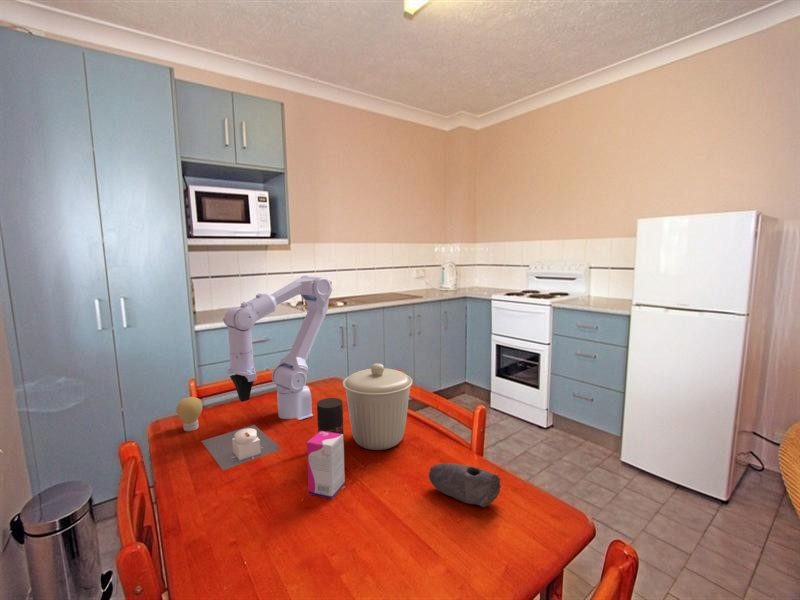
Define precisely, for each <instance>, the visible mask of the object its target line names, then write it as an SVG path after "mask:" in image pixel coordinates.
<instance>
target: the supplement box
mask: <svg viewBox="0 0 800 600" xmlns="http://www.w3.org/2000/svg"><path fill="white" fill-rule="evenodd" d="M343 435H344V433H343V434H338V433H331V432H325V431H320V432H319V433H318V432H317V433H316V434H315V435H314V436H313V437H311V438H310V439H309V440H308V441H307V442H306V451H307V452H306V453H307V454H306V455H307V475H308V476H307V480H308V484H307V485H308V494H309V495H311V496H312V495H313V496H317V497H322V498H326V499H329V500H333V499H334V498H335V497H336V495H338V492H340V490H341V489H342V488H343V486H344V485H345V484H346V482H345V481H346V477H345V446H344V445H345V442H344V443H343Z"/></svg>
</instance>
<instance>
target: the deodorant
mask: <svg viewBox="0 0 800 600" xmlns="http://www.w3.org/2000/svg"><path fill="white" fill-rule="evenodd" d="M316 411H317V412H316V413H317V414H316V415H317V417H316V419H317V434H318V433H319V432H320V431H325V432H331V433H338V434H343V443H344V444H345V442H344V440H345V439H344V406H343V400H342V399H340V398H337V397H327V398H322V399H320V400H318V401H317V403H316Z"/></svg>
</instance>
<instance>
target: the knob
mask: <svg viewBox="0 0 800 600" xmlns="http://www.w3.org/2000/svg"><path fill="white" fill-rule="evenodd" d="M241 429H242V428H241ZM238 430H239V429H238ZM234 436H235V438H233V439H232V443H233V453H234V454H235V455H236V457H237V458H238V459H239V460H243V459H246V458H249V457H252V456H255V455H257V454H260V453H261V449H260V439H259V438H258V437H257V431H256V430H255V429H252V428H247V429H242V430H239V431H237V432H236V433H235V435H234Z"/></svg>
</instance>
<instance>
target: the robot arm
mask: <svg viewBox="0 0 800 600" xmlns="http://www.w3.org/2000/svg"><path fill="white" fill-rule="evenodd" d="M332 292H333V288H332V285H331V282H330V280H329V279H328V278H327V277H324V276H309V275H303V276H300V277H299V278H295V279H294V280H293V281H291V282H290V283H288V284H287V285H285V286H283V287H282V288H280V289H278V290H276V291H275V292H273V293H271V294H267V293H257V294H255V298H252V299H250V300H249V301H246V302H245V301H243V302H241V303H240V306H233V307H229V308H228V309H227V311H226V312H225V313H224V314H225V315H224V317H223V318H222V322H223V323H224V325H225V326H226V327H227V328H228V329H227V331H228V341H229V342H228V344H229V358H230V360H229V361H230V362H229V367H230V368H229V369H226V370H225V371H226V373H227V374H228V375H230V374H232V375H230V376H229V378H230V380H231V381H232V383H233V384H234V388H235V390H236V393H237V397H238V399H239V401H240V402H241V403H243V402H247V401H249V400H250V399H251V398H250V397H251V394H252V393H251V392H252V388H253V385H254V382H255V381H257V380H258V379H257V378H258V377H257V373H256V368H255V364H254V346H253V333H252V332H253V331H252V329H253V327H254V325H255V324H256V322H257V321H260V320H261V319H263V318H265V317H267V316H268V315H270V314H271V313H273V312H275V311H276V308H277V306H278V305H280V304H282V303H284V302H286V301H288V300H291V299H292V298H295V297H297V296H298V295H299V296H301V297H302V299H303V300H304V301H305V303H306V305H307V306H308V310H307V312H306V314H305V316H304V319H303V321H302V323H301V325H300V328H299V331H298V332H297V334H296V337H295V340H294V341H293V343H292V346H291V348H290V350H289V353H288V354H287V356H284V357H283V358H281V359H280V362H279V364H278V365H277V366H276V367H275V368H274V369H273V370H272V373H271V380H272V382H273V384H274V385H276V394H277V396H276V397H277V410H278V411H277V413H278V415H277V416H278V418H280V419H282V420H292V419H297V420H299V421H302V420H305V419H308V418H311V417H313V416H314V414H313V410H312V405H313V404H312V394H311V389H310V387H309V386H308V385H306V384H307V377H308V376H307V375H308V372H309V366H308V364H307V359H308V357H309V355H310V352H311V350H312V347H313V345H314V343H315V341H316V338H317V336H318V334H319V331H320V329H321V326H322V324H323V322H324V320H325V318H326V315H327V312H328V310H329V301H330V297H331V295H332Z"/></svg>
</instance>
